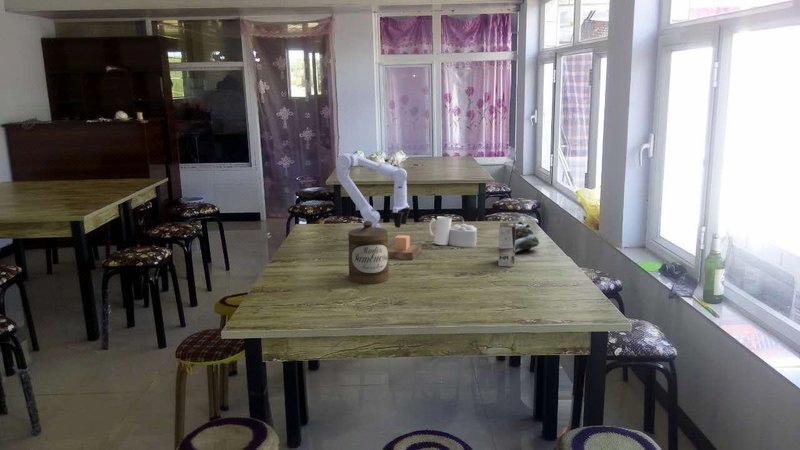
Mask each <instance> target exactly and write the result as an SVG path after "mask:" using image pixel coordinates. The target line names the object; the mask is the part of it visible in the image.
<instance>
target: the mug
mask: <svg viewBox="0 0 800 450" xmlns="http://www.w3.org/2000/svg"><path fill="white" fill-rule="evenodd" d="M452 221H453V218H451V217H448V216H443V215H442V216H440V215H439V216H437V217H436V219H435V218H433V217H432V219H431V220H430V222H429V224H428V232H429V236H430V237H434V244H436V245H438V246H448V245H449V244H448V240H449V233H450V228H451V227H452ZM433 223H435V232H433V231H432V225H433Z"/></svg>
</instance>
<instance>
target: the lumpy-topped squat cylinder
mask: <svg viewBox="0 0 800 450" xmlns="http://www.w3.org/2000/svg"><path fill="white" fill-rule="evenodd" d="M477 233H478V228H477V227H476V226H474V225H473V224H466V223H461V224H456V223H455V224H453V226H452V225H451V228H450V233H449V240H448V245H450V246H453V247H460V248H461V247H463V248H472V247H476V246H477Z"/></svg>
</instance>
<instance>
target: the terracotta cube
mask: <svg viewBox="0 0 800 450" xmlns="http://www.w3.org/2000/svg"><path fill="white" fill-rule="evenodd" d="M410 236H411V235H405V234H403V235H402V234H397V236H395V237H394V243H395V249H403V250H407V249H408V248H409V247H410V245H411V243H410V242H411V237H410Z"/></svg>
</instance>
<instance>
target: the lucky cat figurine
mask: <svg viewBox="0 0 800 450" xmlns="http://www.w3.org/2000/svg"><path fill="white" fill-rule="evenodd" d="M539 244H540V241H539V238H538V237H537V236H536V235H535V234H534V232H533V230H532V229H531V226H530V224H529V223H526V224H524V223H523V222H521V221H518V222H516V238H515V254H516V253H518V252H521V251H524V250H530V249H533V248H535V247H538V246H539Z"/></svg>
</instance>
